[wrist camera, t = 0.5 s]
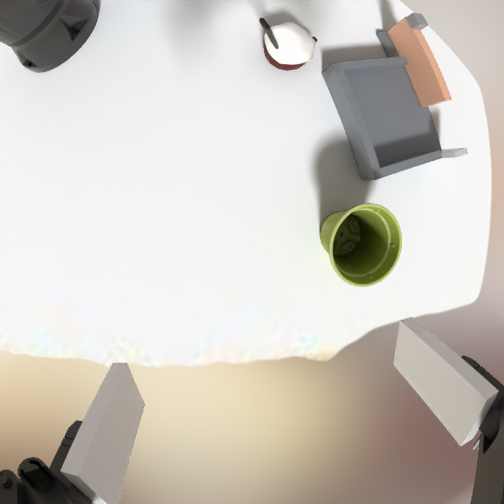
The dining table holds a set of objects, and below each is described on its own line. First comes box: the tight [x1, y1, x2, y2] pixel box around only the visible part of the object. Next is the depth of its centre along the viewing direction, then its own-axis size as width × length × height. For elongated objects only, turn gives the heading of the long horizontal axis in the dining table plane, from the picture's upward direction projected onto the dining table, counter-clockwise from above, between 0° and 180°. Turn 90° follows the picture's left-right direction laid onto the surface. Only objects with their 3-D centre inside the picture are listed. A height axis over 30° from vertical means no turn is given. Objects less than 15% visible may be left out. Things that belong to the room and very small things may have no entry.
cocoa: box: [259, 18, 317, 71], centre depth 25 cm, size 10×6×12 cm, turn 96°
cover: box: [387, 13, 452, 107], centre depth 27 cm, size 14×2×8 cm, turn 20°
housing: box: [322, 32, 468, 180], centre depth 30 cm, size 22×16×7 cm
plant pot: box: [320, 203, 402, 287], centre depth 33 cm, size 9×9×9 cm
